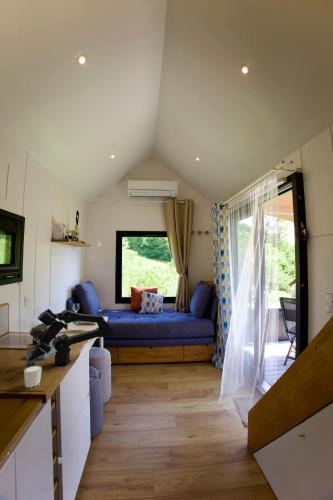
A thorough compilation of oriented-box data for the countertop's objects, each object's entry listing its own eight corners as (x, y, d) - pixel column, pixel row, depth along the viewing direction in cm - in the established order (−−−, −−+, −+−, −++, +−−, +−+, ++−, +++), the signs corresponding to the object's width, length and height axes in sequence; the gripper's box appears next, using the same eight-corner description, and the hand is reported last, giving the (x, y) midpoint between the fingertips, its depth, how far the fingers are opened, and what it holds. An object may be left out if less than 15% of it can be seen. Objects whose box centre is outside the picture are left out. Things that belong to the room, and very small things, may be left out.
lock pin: (40, 368, 125) (40, 343, 125) (32, 373, 119) (33, 347, 119) (28, 367, 126) (29, 342, 126) (20, 373, 120) (21, 346, 120)
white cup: (44, 381, 112) (44, 365, 112) (36, 389, 105) (37, 372, 105) (28, 381, 111) (29, 365, 112) (20, 389, 105) (20, 372, 105)
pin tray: (55, 352, 147) (55, 346, 147) (44, 359, 136) (44, 353, 136) (37, 351, 148) (38, 345, 148) (25, 358, 137) (25, 352, 137)
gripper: (37, 318, 133) (12, 342, 126) (44, 325, 118) (16, 354, 111) (53, 330, 137) (30, 355, 130) (61, 339, 122) (35, 367, 115)
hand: (27, 357), depth 122 cm, fingers open, 8 cm apart
